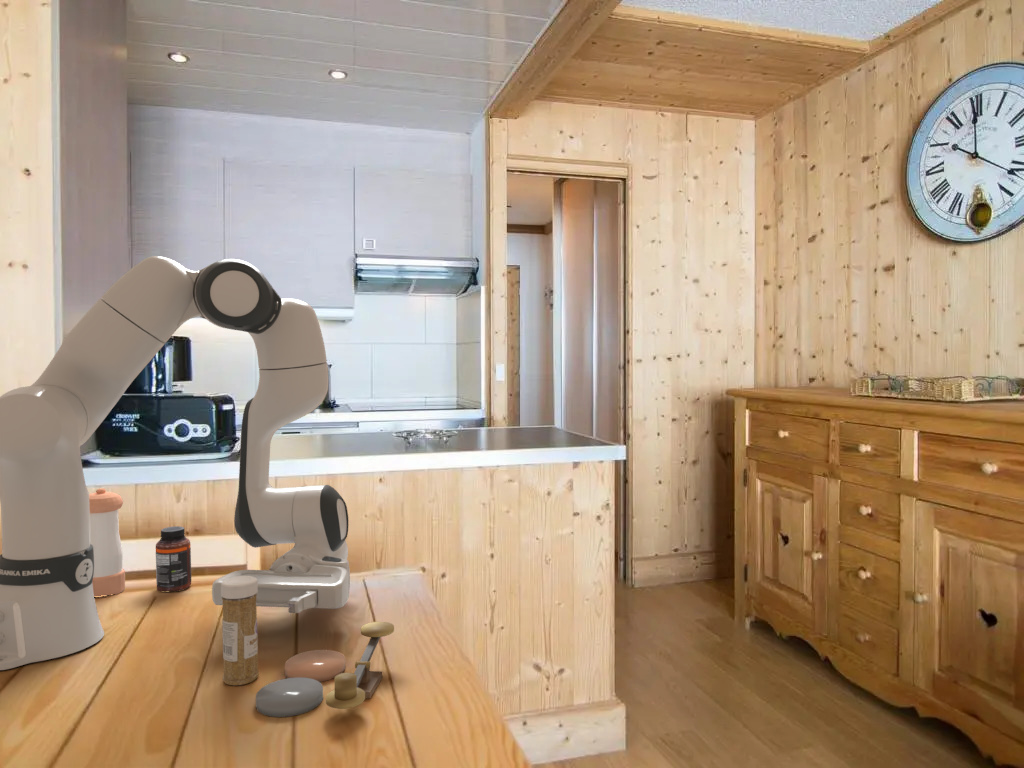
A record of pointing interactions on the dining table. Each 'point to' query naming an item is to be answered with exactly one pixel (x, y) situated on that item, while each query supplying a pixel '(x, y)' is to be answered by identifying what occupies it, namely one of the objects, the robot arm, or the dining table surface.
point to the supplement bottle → (173, 560)
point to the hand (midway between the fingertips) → (261, 606)
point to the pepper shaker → (106, 543)
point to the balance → (359, 672)
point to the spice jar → (239, 629)
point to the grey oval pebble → (289, 697)
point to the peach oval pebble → (315, 665)
